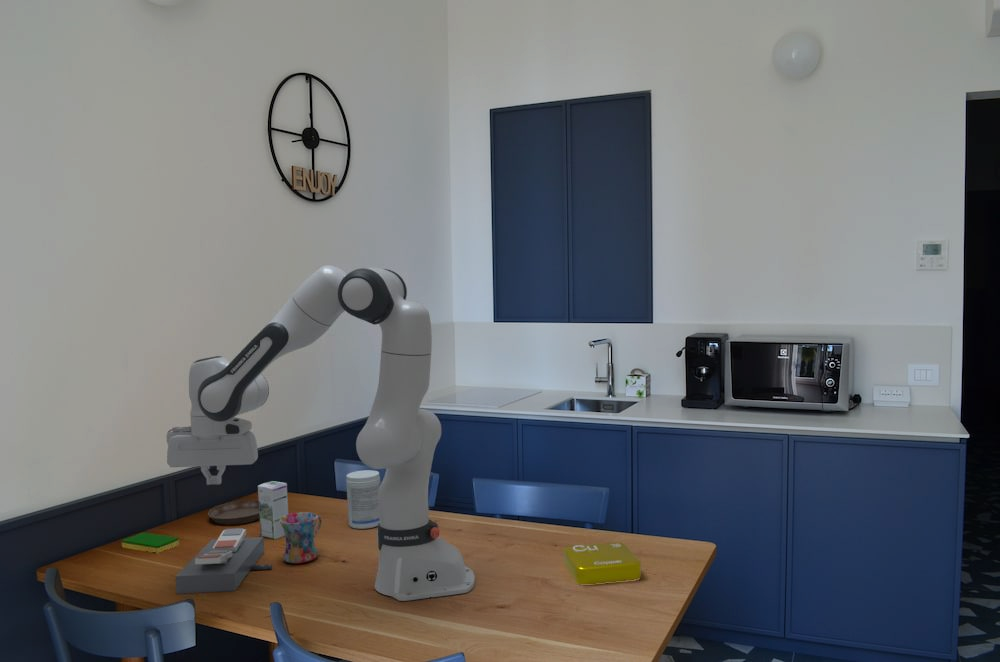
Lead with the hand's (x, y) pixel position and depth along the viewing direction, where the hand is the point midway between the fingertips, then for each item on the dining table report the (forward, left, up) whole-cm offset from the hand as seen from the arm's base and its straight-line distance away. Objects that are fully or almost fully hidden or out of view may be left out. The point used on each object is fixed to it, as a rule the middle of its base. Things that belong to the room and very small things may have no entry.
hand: (214, 484), depth 178 cm
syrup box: (-6, -29, -22) cm, 37 cm away
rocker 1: (0, -9, -17) cm, 20 cm away
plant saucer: (+9, -48, -23) cm, 54 cm away
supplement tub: (-30, -35, -22) cm, 51 cm away
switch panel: (-2, -3, -22) cm, 23 cm away
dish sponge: (+26, -25, -23) cm, 43 cm away
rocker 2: (0, +3, -17) cm, 17 cm away
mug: (-18, -10, -22) cm, 31 cm away
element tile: (-90, +9, -23) cm, 93 cm away
